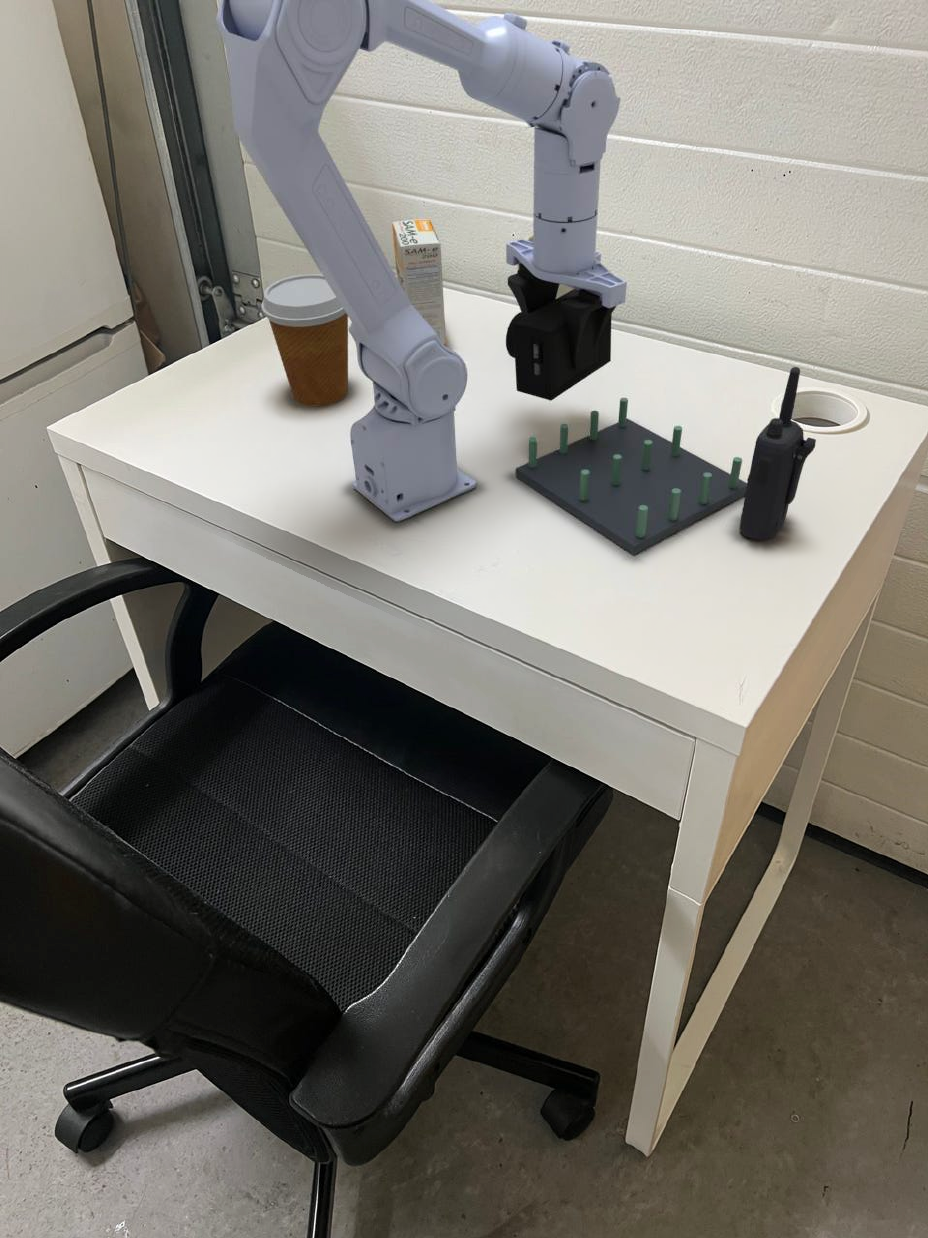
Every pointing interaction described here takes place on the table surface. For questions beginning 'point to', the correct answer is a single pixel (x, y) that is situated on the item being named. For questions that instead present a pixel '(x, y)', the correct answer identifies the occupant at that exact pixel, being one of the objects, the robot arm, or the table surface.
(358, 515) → the table surface
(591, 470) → the rack
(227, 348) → the table surface
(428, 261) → the supplement box
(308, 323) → the disposable coffee cup
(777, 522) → the two-way radio
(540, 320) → the digital camera
